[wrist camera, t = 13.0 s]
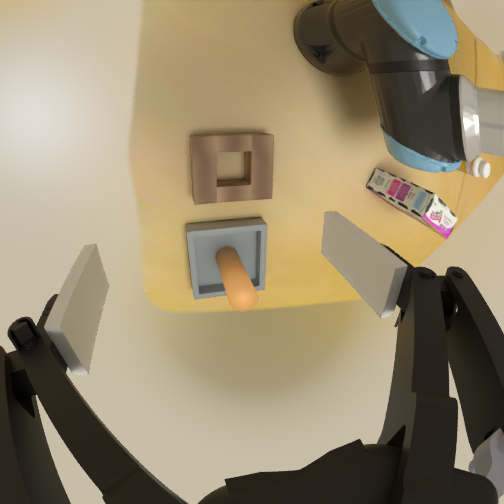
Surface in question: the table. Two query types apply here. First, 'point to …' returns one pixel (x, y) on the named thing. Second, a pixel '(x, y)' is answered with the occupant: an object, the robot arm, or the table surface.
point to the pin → (235, 279)
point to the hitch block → (250, 188)
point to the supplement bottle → (475, 167)
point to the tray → (220, 235)
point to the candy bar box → (413, 201)
